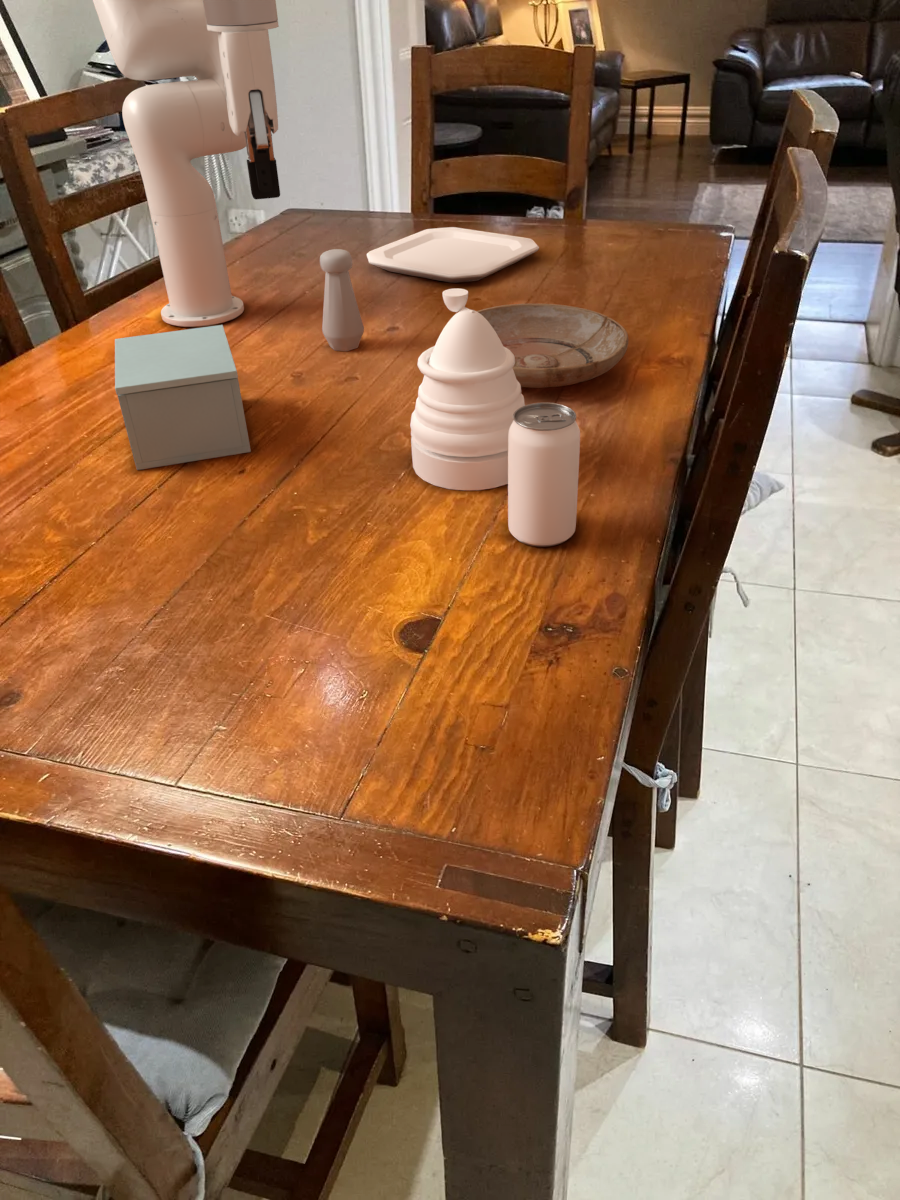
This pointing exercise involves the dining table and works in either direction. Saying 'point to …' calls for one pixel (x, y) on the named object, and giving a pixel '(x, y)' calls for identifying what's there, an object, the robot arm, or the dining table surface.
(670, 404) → the dining table surface
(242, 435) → the chest
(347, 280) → the salt shaker
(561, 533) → the can
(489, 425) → the honey pot
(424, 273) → the plate
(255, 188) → the robot arm
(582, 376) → the ceramic bowl
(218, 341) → the lid
